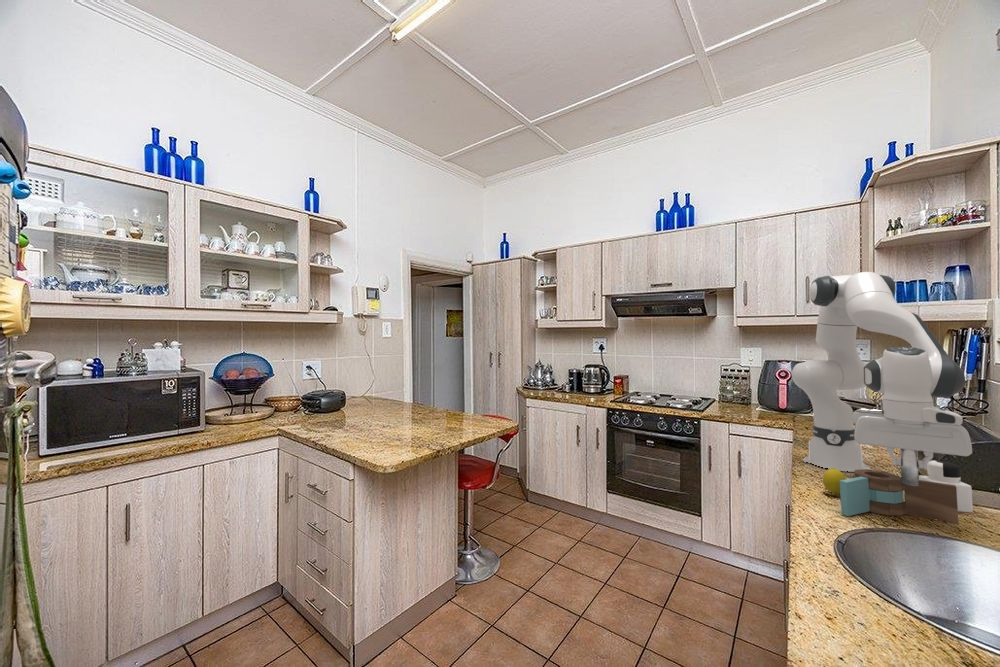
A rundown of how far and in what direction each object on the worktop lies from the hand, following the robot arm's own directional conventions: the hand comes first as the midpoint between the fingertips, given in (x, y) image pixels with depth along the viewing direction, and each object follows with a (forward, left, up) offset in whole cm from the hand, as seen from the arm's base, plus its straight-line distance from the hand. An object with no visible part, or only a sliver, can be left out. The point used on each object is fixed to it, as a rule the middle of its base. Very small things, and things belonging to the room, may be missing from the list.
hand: (909, 467), depth 97 cm
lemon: (-13, -15, -14) cm, 24 cm away
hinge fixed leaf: (-8, -1, -14) cm, 16 cm away
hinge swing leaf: (-3, -8, -14) cm, 16 cm away
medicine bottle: (-21, +8, -14) cm, 26 cm away
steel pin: (0, 0, -4) cm, 4 cm away
